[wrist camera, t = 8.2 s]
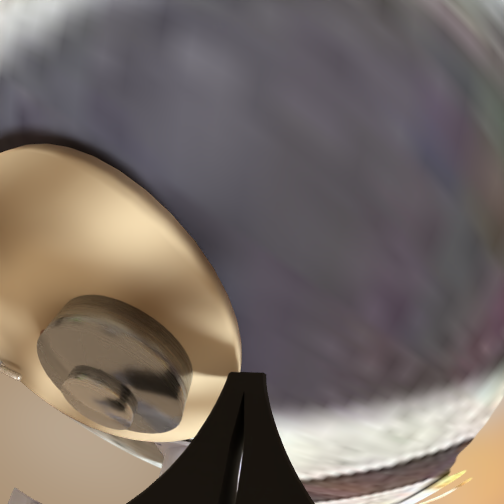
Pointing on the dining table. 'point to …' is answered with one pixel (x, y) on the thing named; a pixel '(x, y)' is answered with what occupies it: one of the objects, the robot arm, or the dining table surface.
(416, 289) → the dining table surface
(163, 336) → the cover
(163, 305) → the platter
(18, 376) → the silver knobbed piece
